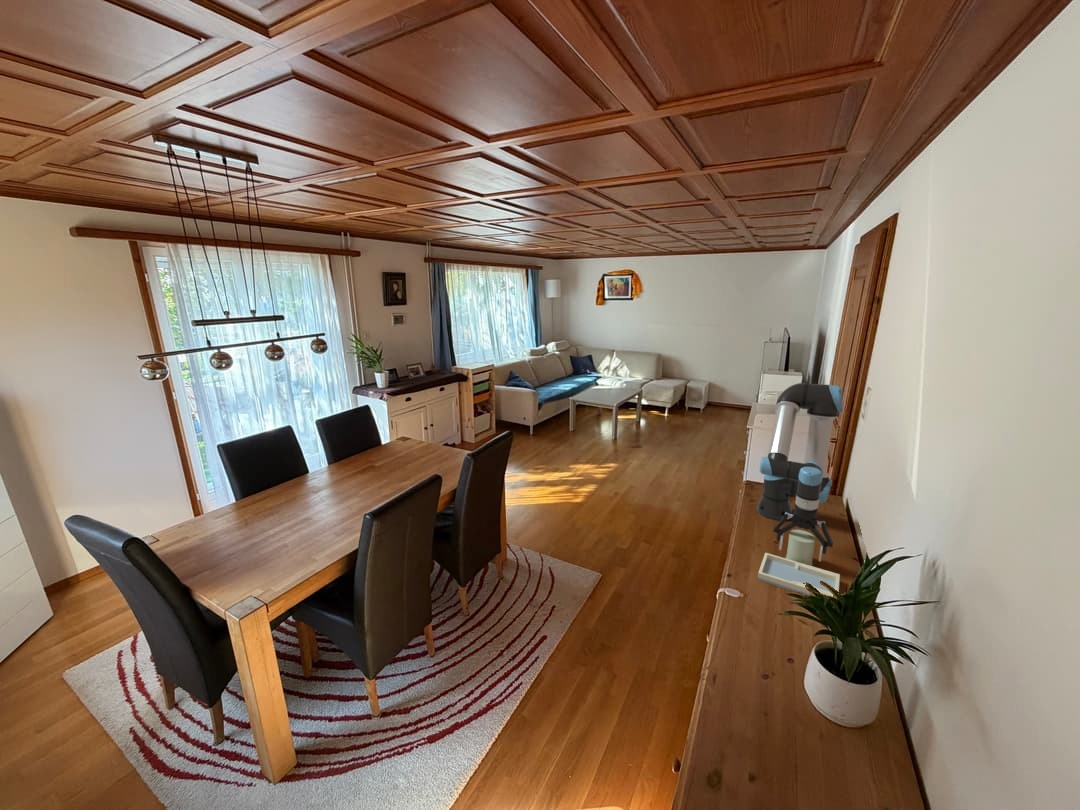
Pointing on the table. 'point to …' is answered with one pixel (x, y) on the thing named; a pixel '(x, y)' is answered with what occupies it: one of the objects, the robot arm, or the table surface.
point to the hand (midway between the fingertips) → (799, 553)
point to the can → (800, 547)
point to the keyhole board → (796, 575)
